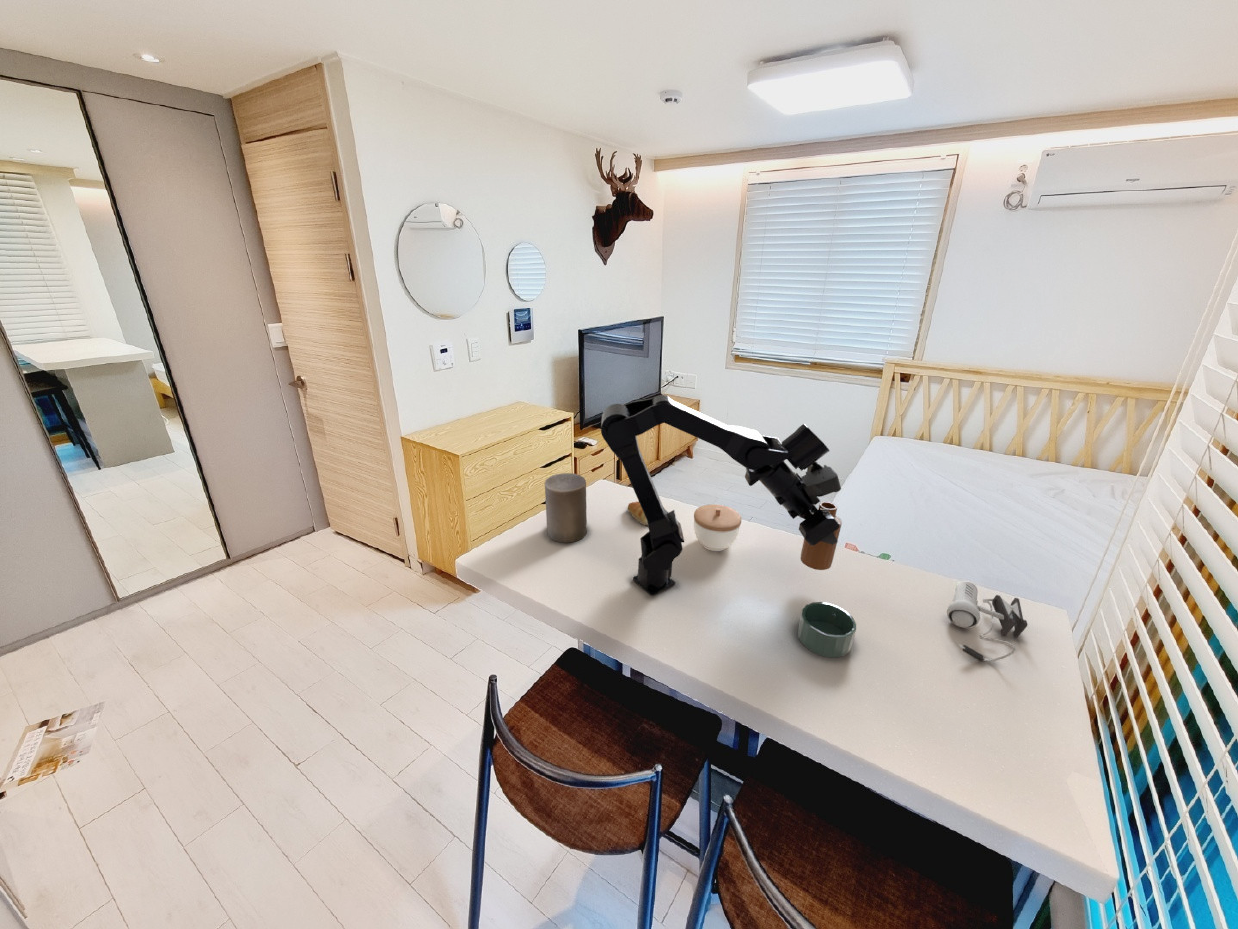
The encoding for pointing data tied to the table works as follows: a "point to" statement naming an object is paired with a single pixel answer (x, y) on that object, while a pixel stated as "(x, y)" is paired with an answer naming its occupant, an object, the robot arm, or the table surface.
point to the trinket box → (716, 526)
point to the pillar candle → (566, 507)
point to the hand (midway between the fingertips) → (828, 534)
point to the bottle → (821, 545)
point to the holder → (826, 629)
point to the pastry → (637, 512)
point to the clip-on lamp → (968, 615)
